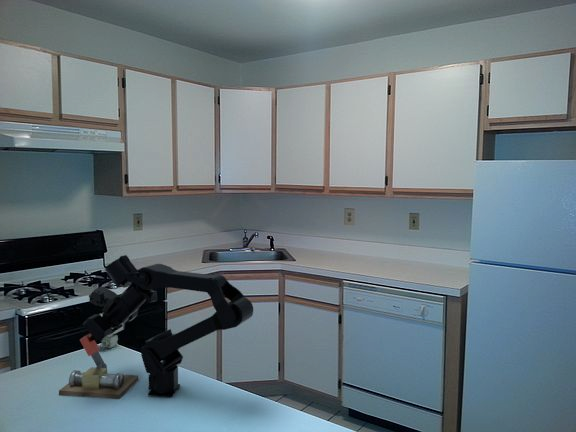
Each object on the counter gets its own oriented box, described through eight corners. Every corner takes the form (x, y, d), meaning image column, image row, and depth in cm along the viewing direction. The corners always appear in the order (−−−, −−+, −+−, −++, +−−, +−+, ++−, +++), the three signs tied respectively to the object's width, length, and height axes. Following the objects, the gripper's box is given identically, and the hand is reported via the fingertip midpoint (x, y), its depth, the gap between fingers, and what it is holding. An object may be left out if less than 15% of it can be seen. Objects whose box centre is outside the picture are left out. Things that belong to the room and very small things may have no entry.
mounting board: (138, 379, 123) (138, 375, 123) (119, 399, 112) (119, 394, 112) (83, 376, 124) (83, 372, 124) (59, 395, 113) (58, 390, 113)
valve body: (125, 385, 118) (124, 369, 118) (116, 392, 114) (116, 376, 113) (78, 382, 119) (77, 366, 119) (68, 389, 115) (68, 373, 115)
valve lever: (109, 367, 121) (90, 333, 121) (105, 370, 119) (86, 335, 118) (102, 370, 121) (83, 336, 121) (98, 374, 119) (79, 339, 119)
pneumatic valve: (127, 341, 152) (127, 306, 151) (103, 353, 141) (102, 316, 140) (114, 339, 154) (113, 304, 153) (88, 351, 143) (88, 314, 142)
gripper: (126, 270, 127) (91, 307, 129) (89, 286, 109) (48, 328, 111) (153, 299, 127) (117, 335, 129) (120, 320, 108) (79, 361, 111)
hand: (92, 338), depth 120 cm, fingers closed, pressing on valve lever
